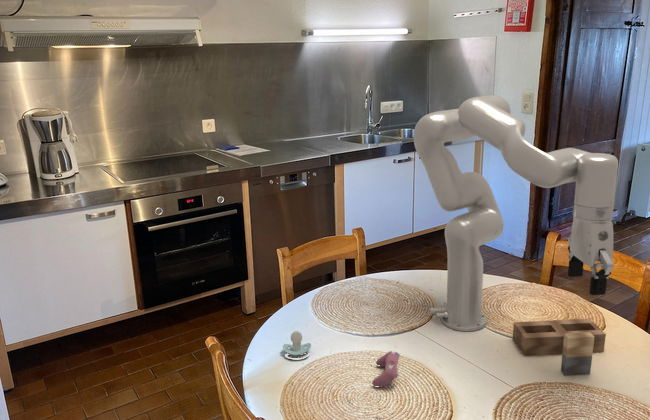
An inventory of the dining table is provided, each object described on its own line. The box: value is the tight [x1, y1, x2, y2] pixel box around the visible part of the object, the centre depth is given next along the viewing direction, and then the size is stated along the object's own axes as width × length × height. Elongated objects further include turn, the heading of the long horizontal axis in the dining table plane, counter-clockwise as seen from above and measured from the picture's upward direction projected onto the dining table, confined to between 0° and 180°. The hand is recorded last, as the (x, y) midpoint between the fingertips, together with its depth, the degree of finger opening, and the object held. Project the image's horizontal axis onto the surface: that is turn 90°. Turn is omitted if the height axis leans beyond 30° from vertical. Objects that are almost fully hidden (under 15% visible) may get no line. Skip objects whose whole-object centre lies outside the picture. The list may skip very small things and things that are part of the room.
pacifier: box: [282, 330, 312, 358], centre depth 135 cm, size 7×6×6 cm
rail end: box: [560, 332, 594, 377], centre depth 122 cm, size 6×2×10 cm, turn 91°
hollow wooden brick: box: [512, 318, 607, 357], centre depth 134 cm, size 20×8×5 cm, turn 91°
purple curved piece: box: [371, 350, 400, 388], centre depth 124 cm, size 10×5×7 cm, turn 169°
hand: (585, 284), depth 117 cm, fingers open, 9 cm apart
